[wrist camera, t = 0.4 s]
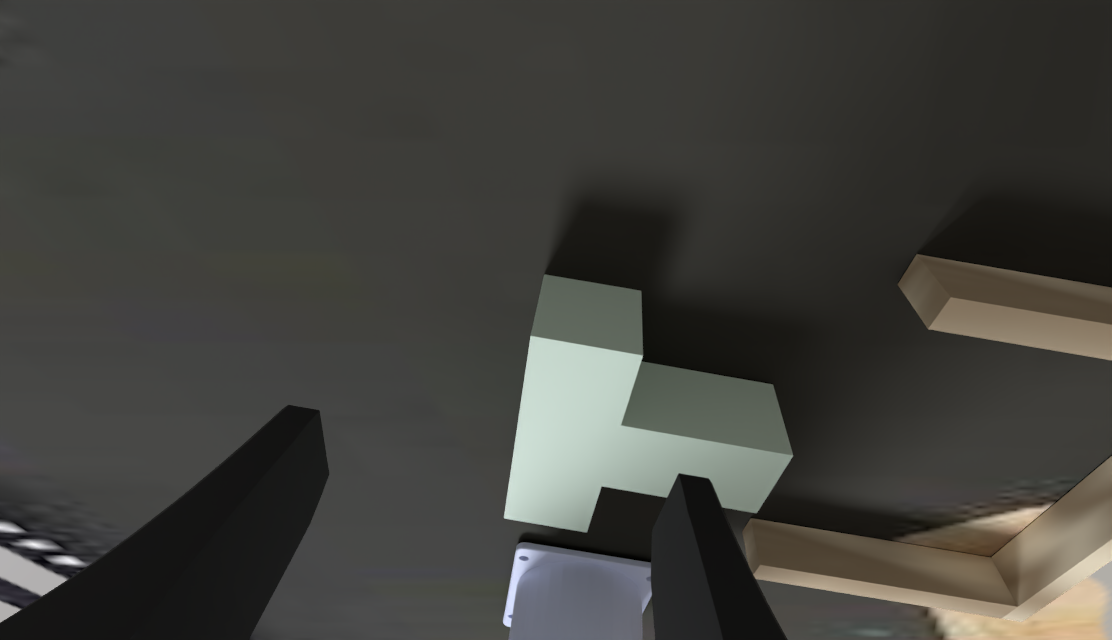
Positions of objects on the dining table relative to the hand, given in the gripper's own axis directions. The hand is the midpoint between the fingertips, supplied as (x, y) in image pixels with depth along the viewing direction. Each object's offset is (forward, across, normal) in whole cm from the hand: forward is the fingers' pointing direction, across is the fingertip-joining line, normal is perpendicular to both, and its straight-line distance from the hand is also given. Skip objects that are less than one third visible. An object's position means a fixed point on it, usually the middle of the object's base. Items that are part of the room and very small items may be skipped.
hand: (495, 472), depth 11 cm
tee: (+10, -5, +6) cm, 13 cm away
